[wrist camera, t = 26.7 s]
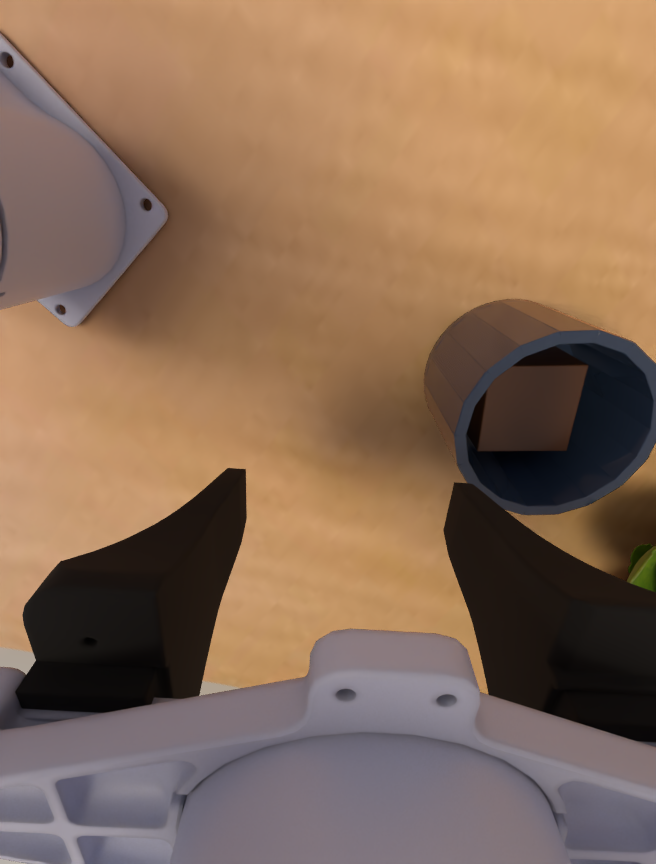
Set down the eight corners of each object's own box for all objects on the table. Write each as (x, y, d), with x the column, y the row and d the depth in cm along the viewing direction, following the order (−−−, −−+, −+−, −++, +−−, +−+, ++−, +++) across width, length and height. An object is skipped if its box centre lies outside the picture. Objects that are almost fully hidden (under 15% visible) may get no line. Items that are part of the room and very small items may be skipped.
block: (454, 415, 24) (477, 452, 20) (464, 341, 22) (490, 365, 19) (531, 415, 24) (567, 451, 20) (546, 340, 22) (589, 365, 19)
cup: (392, 371, 24) (413, 426, 18) (526, 262, 21) (607, 280, 15) (477, 468, 26) (521, 545, 20) (605, 381, 24) (702, 438, 18)
